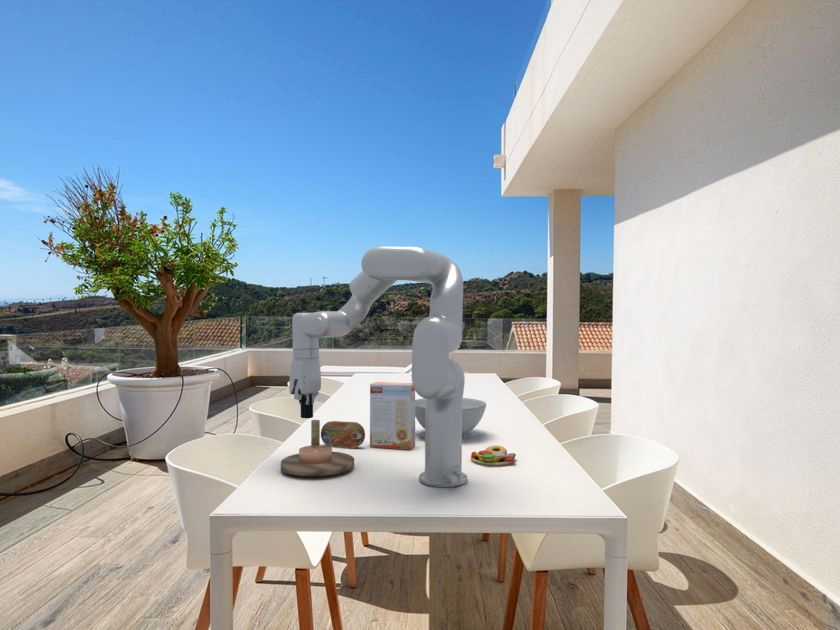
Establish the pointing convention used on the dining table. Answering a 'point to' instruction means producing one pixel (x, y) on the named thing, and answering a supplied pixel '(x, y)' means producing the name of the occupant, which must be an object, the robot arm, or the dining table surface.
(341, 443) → the tin
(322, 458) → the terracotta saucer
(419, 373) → the robot arm
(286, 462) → the turntable
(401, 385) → the cracker box
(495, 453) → the toy food set
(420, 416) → the decorative bowl
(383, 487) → the dining table surface
